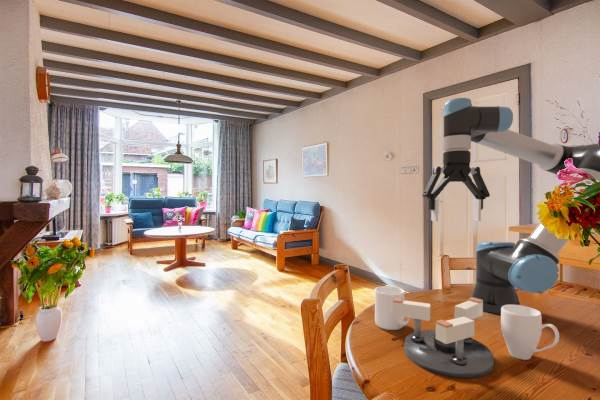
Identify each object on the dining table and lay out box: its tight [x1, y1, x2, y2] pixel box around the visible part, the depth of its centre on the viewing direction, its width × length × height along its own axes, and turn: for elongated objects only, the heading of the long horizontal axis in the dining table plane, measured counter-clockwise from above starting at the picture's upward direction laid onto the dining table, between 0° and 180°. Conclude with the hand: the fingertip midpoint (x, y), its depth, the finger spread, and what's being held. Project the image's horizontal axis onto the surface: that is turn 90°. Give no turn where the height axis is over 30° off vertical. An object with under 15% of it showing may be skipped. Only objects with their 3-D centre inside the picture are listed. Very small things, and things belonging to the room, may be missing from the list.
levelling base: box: [404, 329, 494, 379], centre depth 81 cm, size 20×20×6 cm
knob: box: [435, 317, 475, 359], centre depth 73 cm, size 9×3×9 cm, turn 115°
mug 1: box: [374, 285, 411, 331], centre depth 98 cm, size 9×12×11 cm
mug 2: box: [500, 304, 560, 361], centre depth 79 cm, size 12×8×11 cm
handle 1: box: [393, 297, 431, 337], centre depth 85 cm, size 9×3×9 cm, turn 66°
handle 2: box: [453, 296, 484, 339], centre depth 85 cm, size 9×3×9 cm, turn 126°
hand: (455, 220), depth 100 cm, fingers open, 13 cm apart
